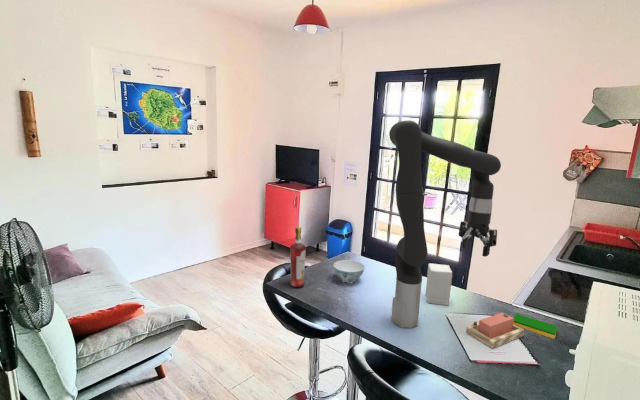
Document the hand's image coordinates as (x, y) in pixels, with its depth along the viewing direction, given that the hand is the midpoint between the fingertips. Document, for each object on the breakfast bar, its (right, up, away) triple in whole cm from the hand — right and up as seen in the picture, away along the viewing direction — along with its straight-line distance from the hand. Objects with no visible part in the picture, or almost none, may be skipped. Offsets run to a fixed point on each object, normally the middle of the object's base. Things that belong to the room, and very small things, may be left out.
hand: (475, 252), depth 126 cm
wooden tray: (+6, -29, -3) cm, 30 cm away
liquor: (-68, -21, +32) cm, 78 cm away
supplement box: (-7, -24, +22) cm, 34 cm away
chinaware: (-44, -20, +39) cm, 62 cm away
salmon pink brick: (+6, -28, -3) cm, 29 cm away
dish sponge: (+23, -30, +2) cm, 38 cm away
